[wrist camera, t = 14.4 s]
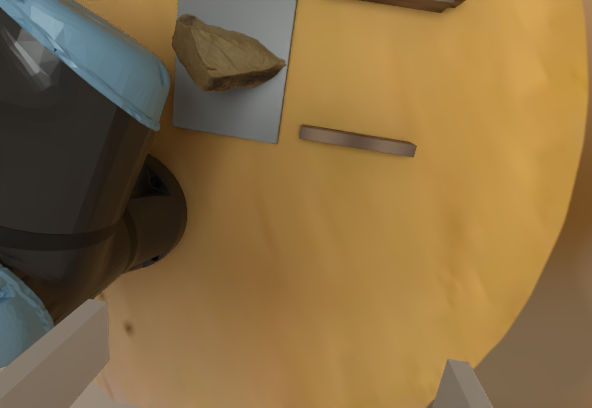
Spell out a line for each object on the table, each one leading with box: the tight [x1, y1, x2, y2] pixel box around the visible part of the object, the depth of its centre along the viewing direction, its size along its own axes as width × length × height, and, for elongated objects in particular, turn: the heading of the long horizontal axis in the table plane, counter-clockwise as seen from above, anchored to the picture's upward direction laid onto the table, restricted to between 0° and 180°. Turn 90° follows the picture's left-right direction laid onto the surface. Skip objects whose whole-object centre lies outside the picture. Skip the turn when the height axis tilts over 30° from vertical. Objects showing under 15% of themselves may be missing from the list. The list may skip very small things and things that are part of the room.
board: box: [172, 0, 297, 144], centre depth 37 cm, size 12×18×1 cm, turn 171°
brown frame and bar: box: [299, 0, 465, 157], centre depth 34 cm, size 14×25×4 cm, turn 171°
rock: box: [172, 13, 286, 92], centre depth 33 cm, size 11×9×10 cm
